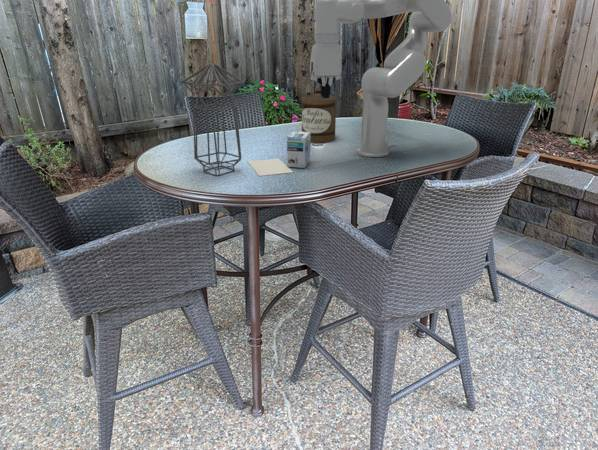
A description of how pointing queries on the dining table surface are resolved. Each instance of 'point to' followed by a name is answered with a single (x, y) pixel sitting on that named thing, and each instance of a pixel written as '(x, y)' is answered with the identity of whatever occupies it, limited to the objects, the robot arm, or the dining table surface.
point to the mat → (269, 167)
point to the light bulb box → (298, 149)
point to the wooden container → (319, 117)
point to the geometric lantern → (218, 71)
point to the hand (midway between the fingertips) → (325, 97)
